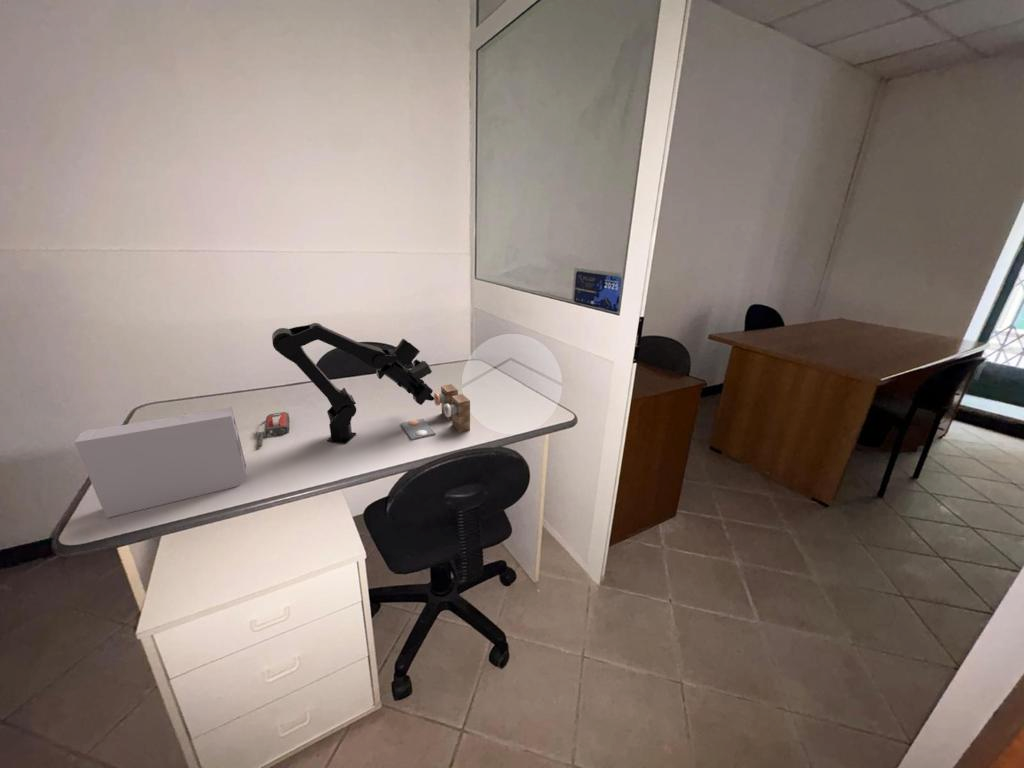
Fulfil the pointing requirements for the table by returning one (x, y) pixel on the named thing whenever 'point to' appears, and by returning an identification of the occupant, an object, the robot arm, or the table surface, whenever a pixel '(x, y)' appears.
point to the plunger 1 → (439, 398)
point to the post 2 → (461, 413)
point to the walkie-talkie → (274, 426)
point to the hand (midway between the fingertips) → (433, 399)
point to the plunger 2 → (450, 409)
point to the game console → (162, 460)
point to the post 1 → (448, 396)
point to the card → (417, 429)
